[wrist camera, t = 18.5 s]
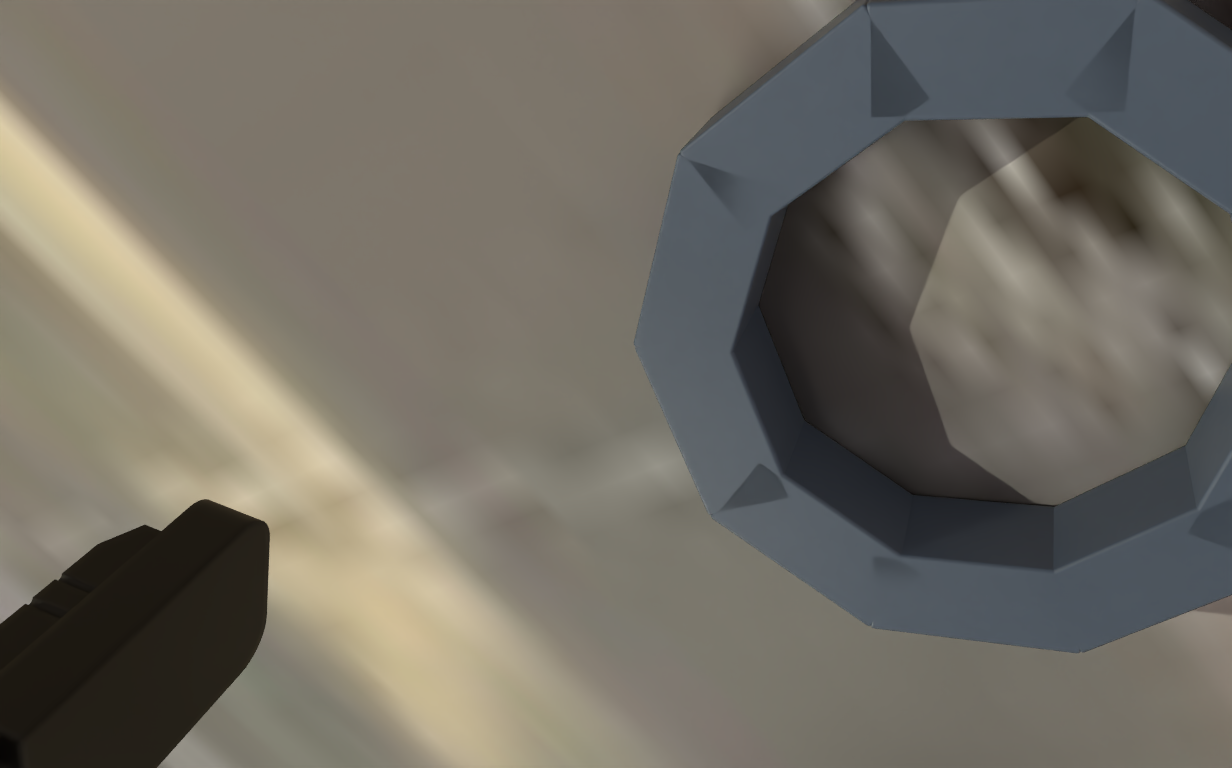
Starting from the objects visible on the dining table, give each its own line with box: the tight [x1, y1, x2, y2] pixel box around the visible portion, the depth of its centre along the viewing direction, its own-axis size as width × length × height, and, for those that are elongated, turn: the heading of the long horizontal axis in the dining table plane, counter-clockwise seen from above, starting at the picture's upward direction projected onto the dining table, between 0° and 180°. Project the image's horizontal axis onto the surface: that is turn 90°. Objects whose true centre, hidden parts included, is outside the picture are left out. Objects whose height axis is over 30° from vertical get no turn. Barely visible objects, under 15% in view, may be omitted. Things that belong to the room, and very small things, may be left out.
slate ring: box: [634, 0, 1232, 653], centre depth 22 cm, size 13×14×2 cm
